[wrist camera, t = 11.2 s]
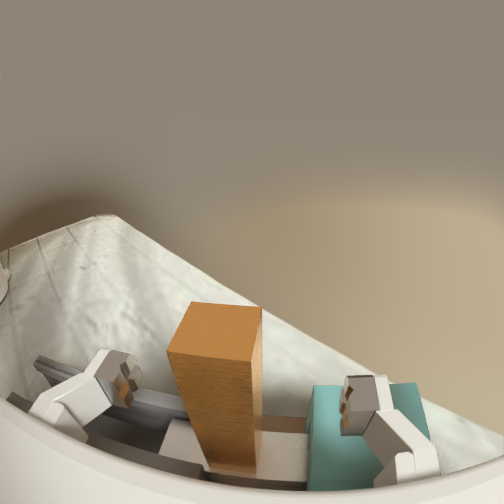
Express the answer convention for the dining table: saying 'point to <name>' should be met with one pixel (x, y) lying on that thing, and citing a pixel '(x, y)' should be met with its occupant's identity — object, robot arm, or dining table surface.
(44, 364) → the slide bolt latch board
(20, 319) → the dining table surface
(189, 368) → the post on white base
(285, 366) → the dining table surface
